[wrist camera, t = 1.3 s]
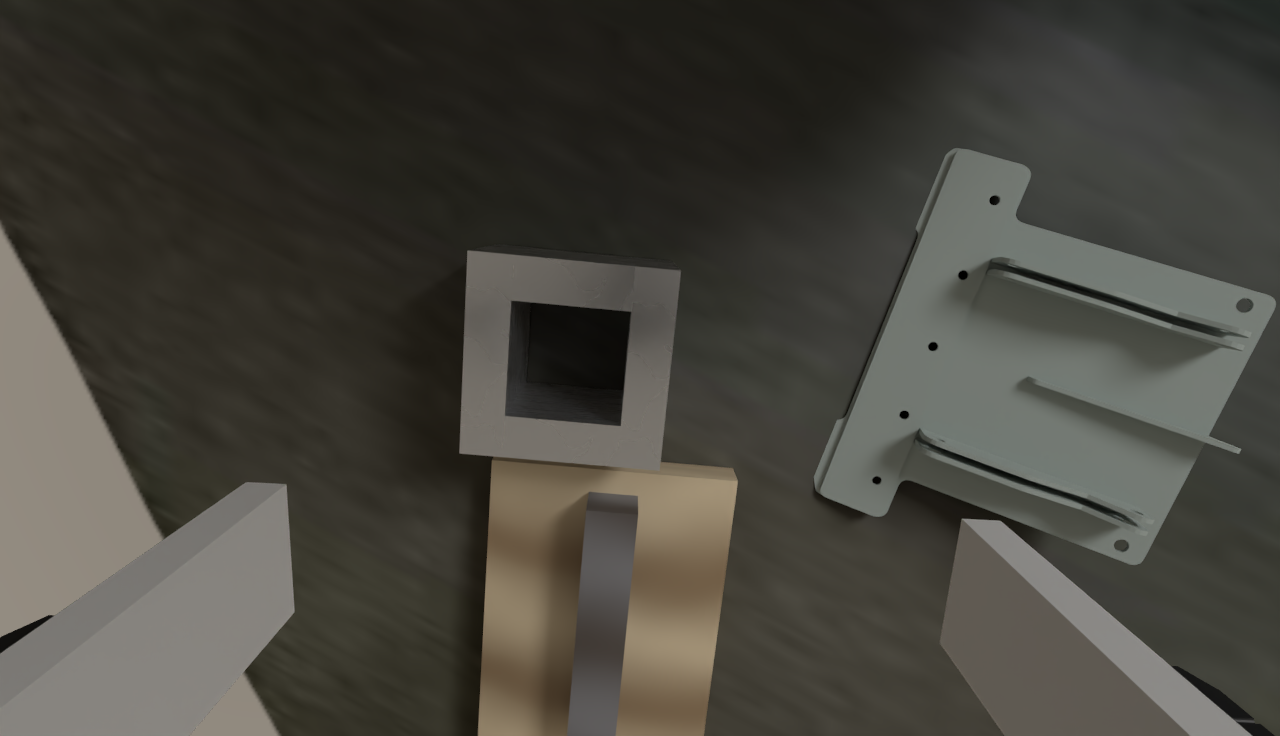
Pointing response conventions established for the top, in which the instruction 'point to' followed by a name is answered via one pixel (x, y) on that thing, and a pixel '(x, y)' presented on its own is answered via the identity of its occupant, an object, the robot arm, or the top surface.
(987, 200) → the metal bracket
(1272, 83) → the top surface
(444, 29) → the top surface
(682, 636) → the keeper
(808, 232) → the top surface
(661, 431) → the grey square socket block
